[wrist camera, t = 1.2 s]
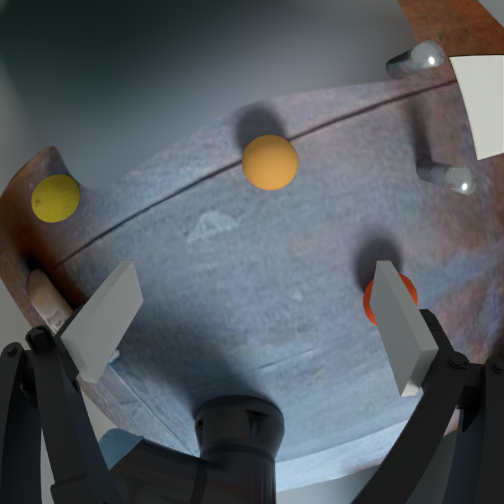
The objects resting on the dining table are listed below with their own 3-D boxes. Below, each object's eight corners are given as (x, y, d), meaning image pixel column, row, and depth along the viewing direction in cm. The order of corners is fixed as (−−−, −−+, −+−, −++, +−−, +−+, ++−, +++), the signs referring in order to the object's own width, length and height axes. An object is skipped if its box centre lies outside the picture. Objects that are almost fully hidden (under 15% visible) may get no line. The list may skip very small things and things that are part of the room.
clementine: (416, 289, 38) (440, 315, 31) (380, 323, 39) (398, 354, 33) (385, 252, 36) (408, 276, 29) (345, 290, 38) (361, 320, 31)
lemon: (98, 197, 34) (62, 213, 27) (71, 220, 35) (35, 239, 28) (77, 161, 33) (39, 169, 25) (51, 186, 34) (13, 199, 26)
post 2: (419, 182, 33) (460, 197, 24) (414, 162, 32) (456, 171, 23) (435, 177, 32) (478, 191, 24) (431, 157, 31) (474, 165, 23)
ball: (253, 192, 34) (252, 202, 29) (236, 145, 32) (231, 146, 27) (301, 176, 33) (309, 183, 28) (285, 128, 31) (289, 126, 26)
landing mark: (476, 160, 31) (477, 160, 31) (449, 57, 26) (449, 57, 26) (532, 143, 29) (533, 144, 29) (510, 55, 24) (511, 55, 24)
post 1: (390, 81, 28) (427, 66, 20) (382, 60, 28) (417, 41, 19) (408, 77, 28) (448, 64, 20) (400, 58, 27) (438, 39, 19)
